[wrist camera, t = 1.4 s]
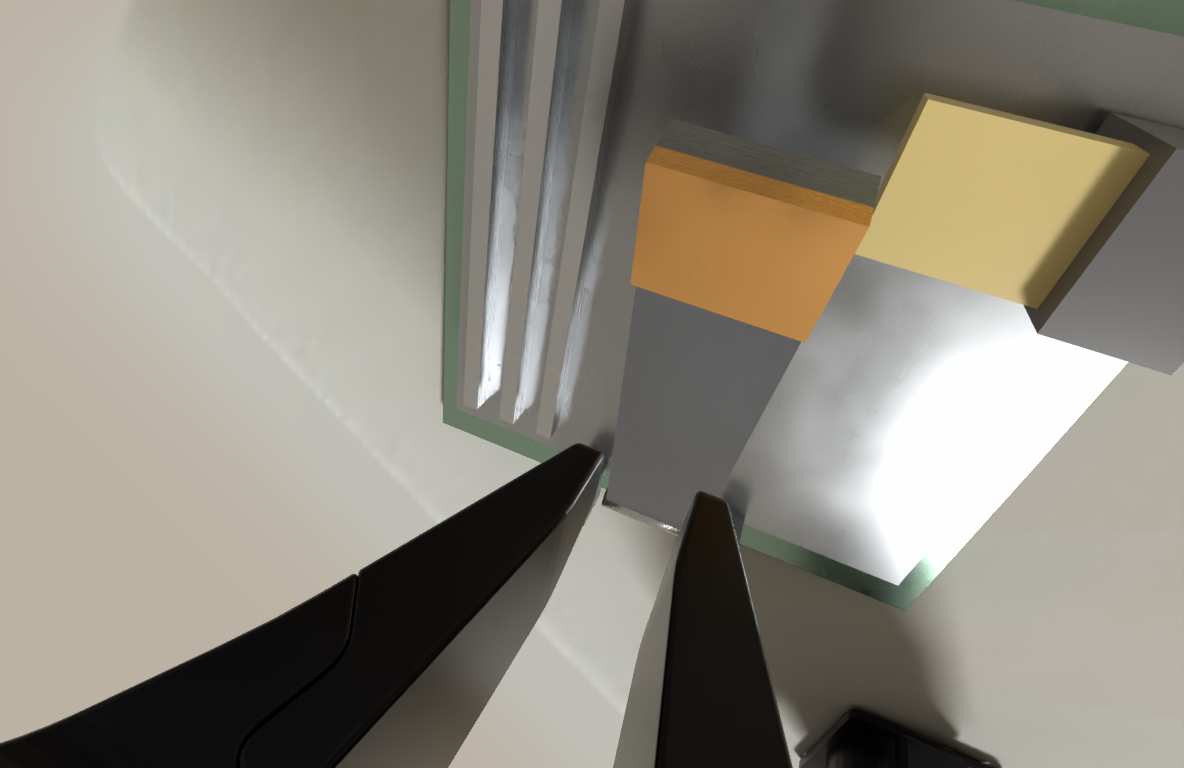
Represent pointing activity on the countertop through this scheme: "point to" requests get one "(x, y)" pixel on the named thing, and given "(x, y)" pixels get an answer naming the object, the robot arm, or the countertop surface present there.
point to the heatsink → (863, 295)
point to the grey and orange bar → (721, 305)
